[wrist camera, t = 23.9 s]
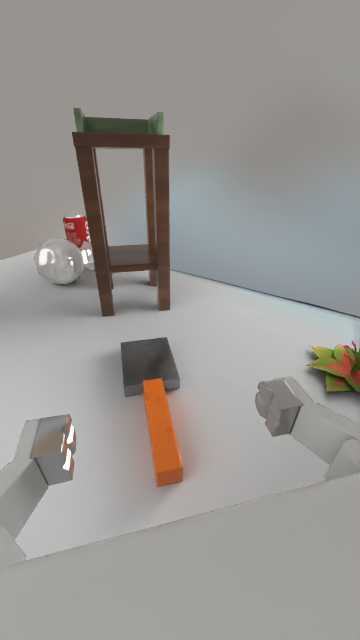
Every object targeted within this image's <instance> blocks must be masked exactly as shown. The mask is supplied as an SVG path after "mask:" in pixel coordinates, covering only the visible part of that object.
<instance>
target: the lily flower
mask: <svg viewBox="0 0 360 640" xmlns="http://www.w3.org/2000/svg"><path fill="white" fill-rule="evenodd" d="M352 344H353V345H354V347H355V350H353V349H351V348H349V346H346V345H345V346H342V345H340V344H339V345H338V347H335V349H334V351H333V350H331V349H328V348H324V347H314V346H310V345H309V346H310V347H311V348H312V349H313V350H314V352H315V353H316V355H317V356H318V357H319V358H318V359H316V360H315V361H313V362H312V363H311V364H309V365H306V366H310V367H313V368H318V369H321V370H325V371H327V373H326V376H325V380H326V386H327V389H326V392H329V391H353V390H357V391H358V392H359V393H360V349H359V353H358V352H357V351H356V350H357V349H356V344H354V342H353V341H352Z"/></svg>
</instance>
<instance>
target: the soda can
mask: <svg viewBox="0 0 360 640" xmlns="http://www.w3.org/2000/svg"><path fill="white" fill-rule="evenodd" d="M63 215H64V218H63V223H64V227H65V232H66V236H67V240H70V241H71V242H73V243H74V244H75V245H76V246H77V247H78V248H81V247H82V244H83V242H84V241H86V242H90V243H91V241H90V235H89V229H88V223H87V218H86V217H85V215H84V212H80V211H72V212H66V213H64V214H63Z"/></svg>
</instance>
